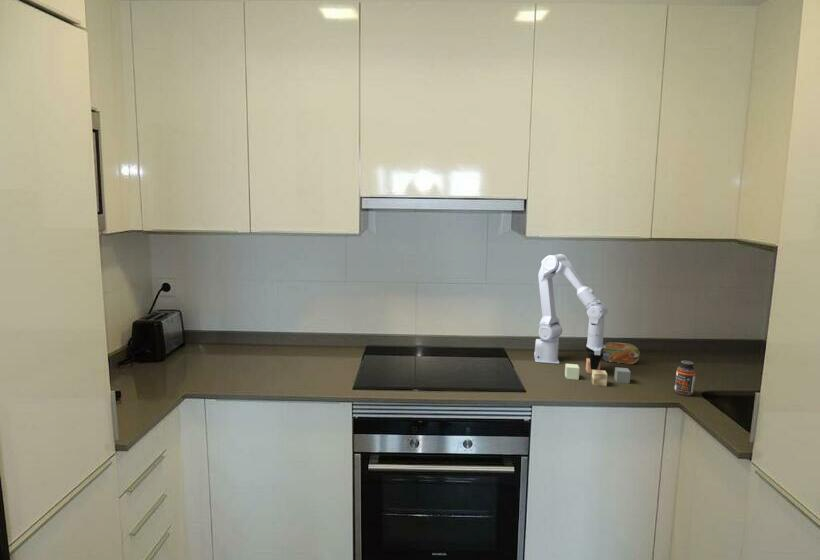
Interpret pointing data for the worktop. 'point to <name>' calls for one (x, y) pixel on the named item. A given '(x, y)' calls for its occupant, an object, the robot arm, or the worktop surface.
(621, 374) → the slate block
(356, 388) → the worktop surface
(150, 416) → the worktop surface
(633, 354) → the tin
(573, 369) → the sage block
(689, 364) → the supplement bottle
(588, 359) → the terracotta block
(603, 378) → the maple block
